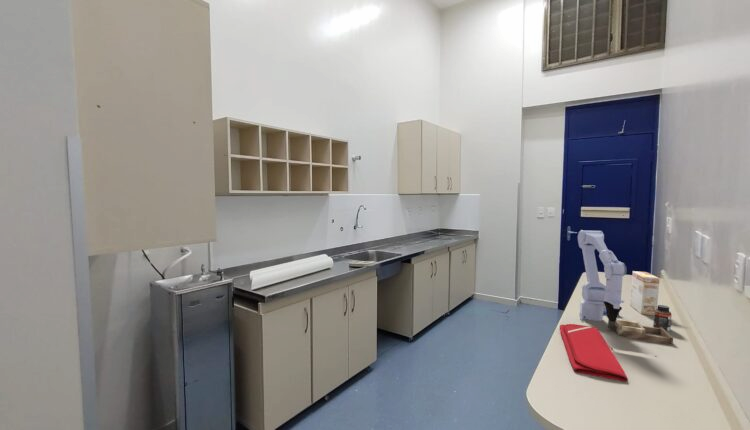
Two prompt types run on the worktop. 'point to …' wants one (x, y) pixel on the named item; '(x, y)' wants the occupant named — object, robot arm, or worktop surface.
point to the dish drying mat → (590, 352)
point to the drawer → (626, 326)
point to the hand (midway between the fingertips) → (611, 319)
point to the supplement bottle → (662, 317)
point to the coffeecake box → (644, 292)
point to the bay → (664, 339)
